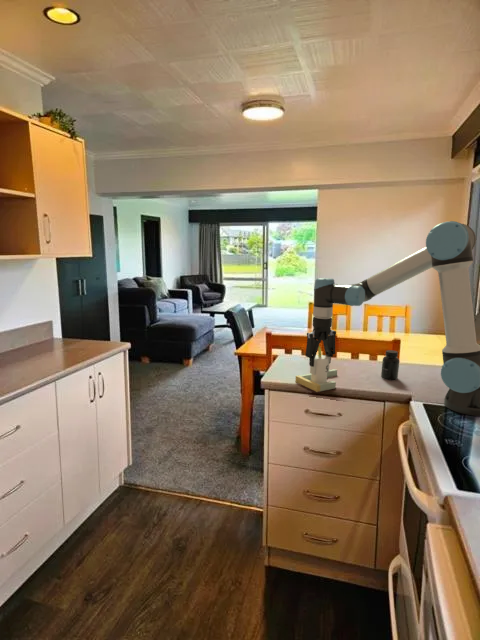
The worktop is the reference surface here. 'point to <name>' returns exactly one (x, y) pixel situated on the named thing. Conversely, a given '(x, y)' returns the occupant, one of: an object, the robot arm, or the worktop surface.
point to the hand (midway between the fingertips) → (319, 372)
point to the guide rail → (316, 387)
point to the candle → (320, 368)
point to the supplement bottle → (390, 365)
